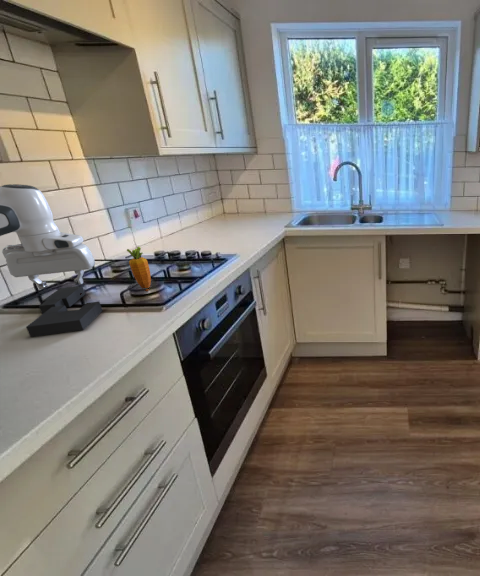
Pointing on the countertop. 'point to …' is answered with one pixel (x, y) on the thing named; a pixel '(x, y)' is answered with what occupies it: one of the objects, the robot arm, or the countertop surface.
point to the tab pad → (62, 298)
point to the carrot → (140, 268)
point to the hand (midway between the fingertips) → (61, 286)
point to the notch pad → (64, 320)
